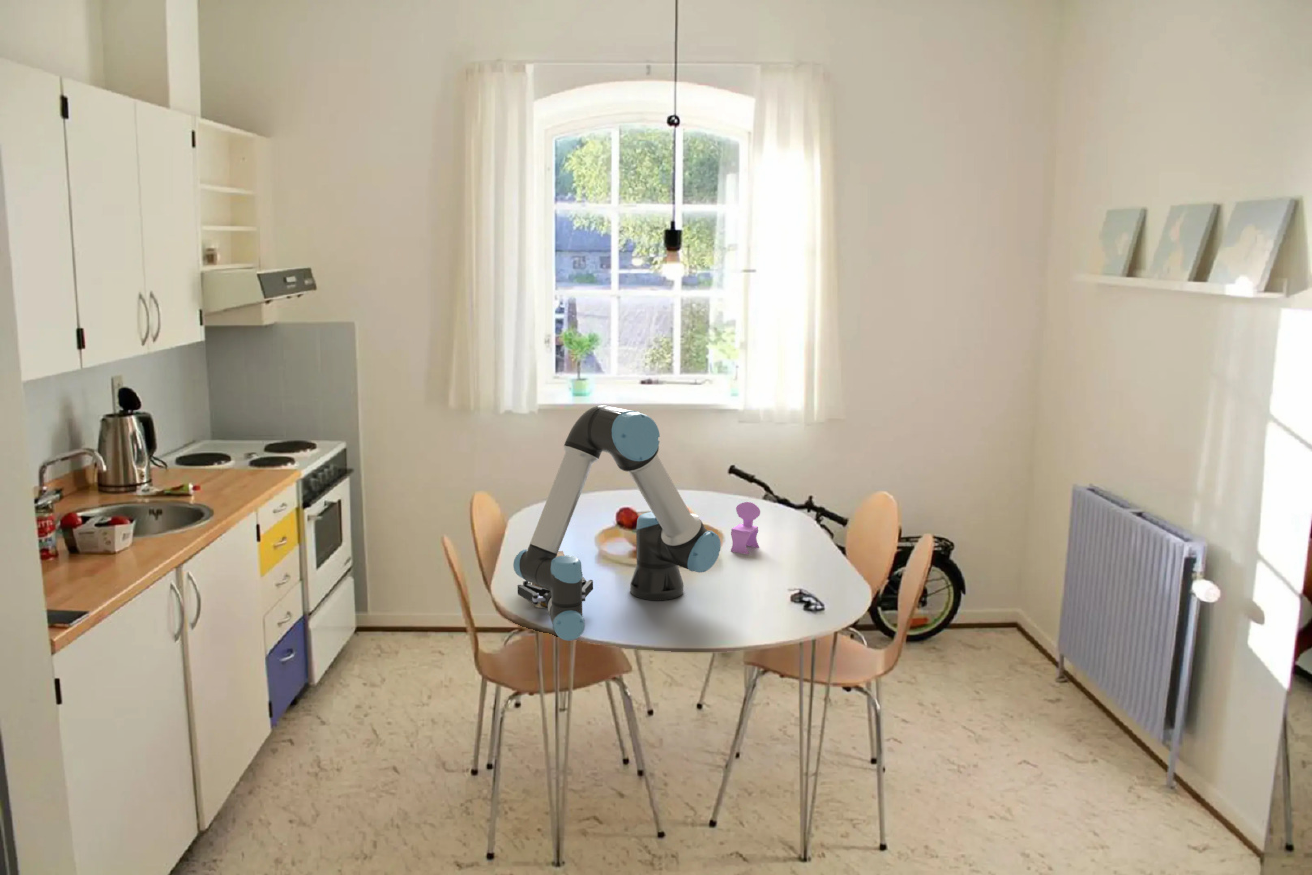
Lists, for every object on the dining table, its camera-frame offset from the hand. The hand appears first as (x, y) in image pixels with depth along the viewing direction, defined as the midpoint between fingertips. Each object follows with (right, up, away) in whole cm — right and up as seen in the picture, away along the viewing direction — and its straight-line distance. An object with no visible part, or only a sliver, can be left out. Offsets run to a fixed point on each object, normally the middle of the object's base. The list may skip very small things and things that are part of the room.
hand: (552, 577), depth 291 cm
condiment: (+1, -8, -1) cm, 8 cm away
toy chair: (+57, +2, +47) cm, 74 cm away
